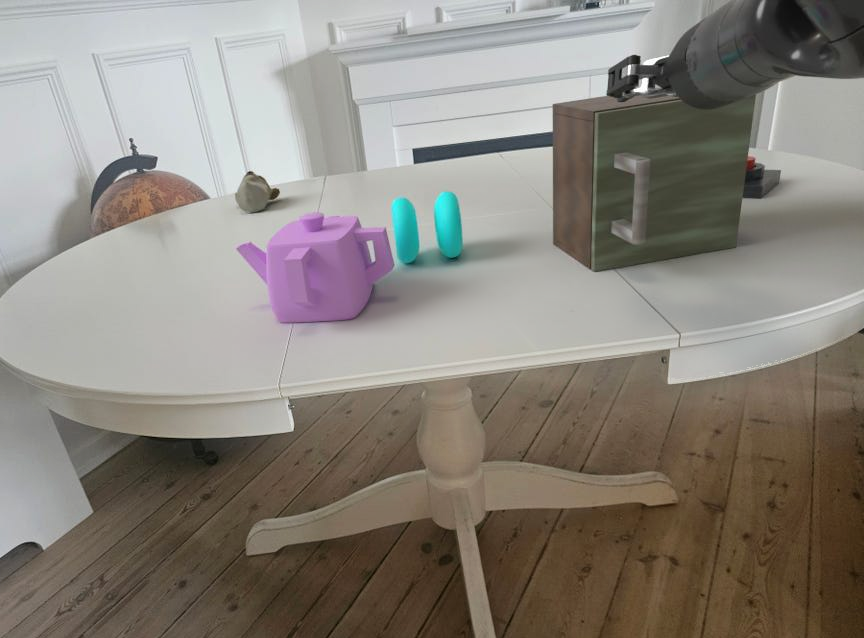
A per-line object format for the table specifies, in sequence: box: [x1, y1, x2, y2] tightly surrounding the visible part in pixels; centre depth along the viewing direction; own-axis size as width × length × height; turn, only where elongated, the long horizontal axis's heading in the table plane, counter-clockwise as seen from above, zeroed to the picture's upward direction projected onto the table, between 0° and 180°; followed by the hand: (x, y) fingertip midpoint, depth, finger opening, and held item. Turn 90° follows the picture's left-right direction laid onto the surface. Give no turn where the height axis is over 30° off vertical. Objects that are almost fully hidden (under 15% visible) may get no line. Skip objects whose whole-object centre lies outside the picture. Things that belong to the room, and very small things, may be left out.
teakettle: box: [236, 211, 395, 324], centre depth 85 cm, size 17×17×12 cm
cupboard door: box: [591, 94, 757, 273], centre depth 78 cm, size 7×20×20 cm, turn 99°
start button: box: [746, 155, 757, 169], centre depth 110 cm, size 4×4×2 cm
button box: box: [742, 162, 782, 200], centre depth 111 cm, size 12×10×4 cm
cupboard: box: [552, 87, 681, 271], centre depth 88 cm, size 13×20×20 cm, turn 99°
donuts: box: [391, 190, 464, 264], centre depth 96 cm, size 10×10×10 cm
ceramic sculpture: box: [234, 170, 281, 213], centre depth 147 cm, size 11×9×15 cm
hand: (660, 92), depth 68 cm, fingers open, 8 cm apart
